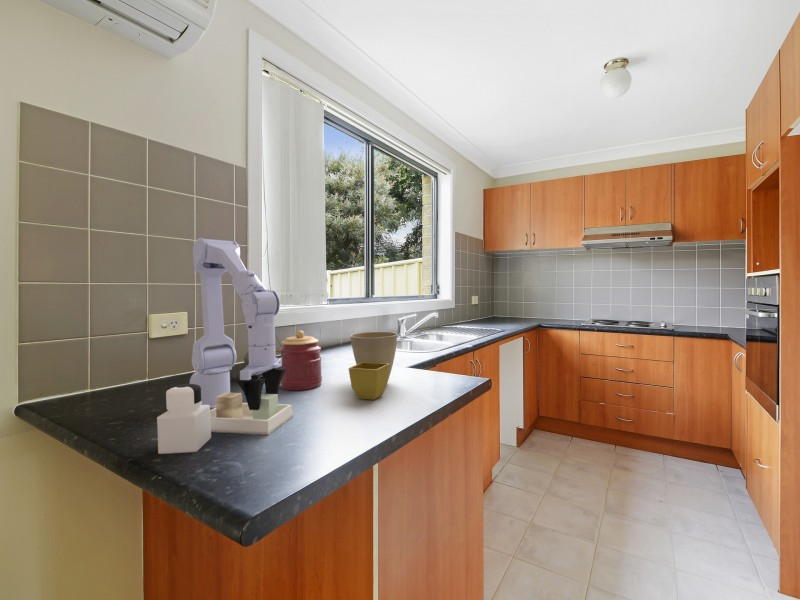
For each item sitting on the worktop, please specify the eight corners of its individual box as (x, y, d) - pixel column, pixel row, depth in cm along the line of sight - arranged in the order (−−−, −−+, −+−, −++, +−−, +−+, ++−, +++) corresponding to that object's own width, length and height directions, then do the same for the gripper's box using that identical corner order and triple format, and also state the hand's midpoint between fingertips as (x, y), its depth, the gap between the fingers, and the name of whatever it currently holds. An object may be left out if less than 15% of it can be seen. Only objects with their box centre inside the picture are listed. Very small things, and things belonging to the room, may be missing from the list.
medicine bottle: (176, 439, 80) (173, 382, 79) (211, 438, 80) (209, 380, 80) (157, 454, 73) (154, 391, 72) (196, 452, 73) (194, 390, 73)
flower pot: (348, 400, 105) (347, 367, 105) (363, 391, 114) (362, 361, 113) (377, 403, 102) (376, 369, 102) (390, 394, 110) (390, 363, 110)
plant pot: (362, 377, 131) (361, 331, 131) (404, 380, 127) (403, 332, 126) (343, 389, 117) (342, 336, 116) (389, 392, 113) (388, 338, 112)
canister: (317, 391, 116) (315, 332, 115) (274, 391, 116) (272, 333, 115) (325, 380, 128) (324, 327, 128) (287, 381, 129) (285, 328, 128)
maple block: (216, 423, 87) (215, 397, 87) (227, 417, 91) (226, 392, 91) (232, 424, 87) (231, 397, 86) (242, 418, 91) (241, 392, 90)
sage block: (253, 425, 86) (252, 398, 86) (262, 419, 90) (261, 393, 90) (269, 426, 85) (268, 399, 85) (278, 419, 89) (277, 394, 89)
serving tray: (195, 431, 84) (195, 417, 84) (227, 414, 95) (226, 402, 95) (268, 435, 81) (268, 420, 81) (292, 417, 92) (292, 404, 92)
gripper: (261, 350, 79) (263, 415, 80) (292, 340, 93) (294, 395, 94) (230, 349, 80) (232, 414, 81) (266, 339, 95) (267, 394, 95)
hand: (263, 404), depth 87 cm, fingers open, 7 cm apart
